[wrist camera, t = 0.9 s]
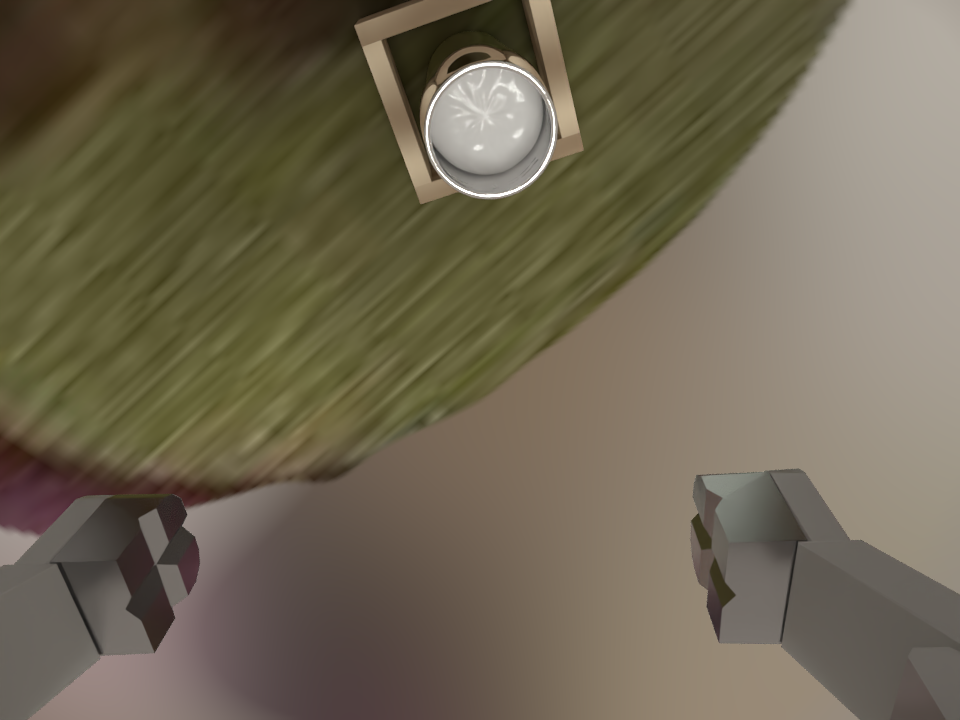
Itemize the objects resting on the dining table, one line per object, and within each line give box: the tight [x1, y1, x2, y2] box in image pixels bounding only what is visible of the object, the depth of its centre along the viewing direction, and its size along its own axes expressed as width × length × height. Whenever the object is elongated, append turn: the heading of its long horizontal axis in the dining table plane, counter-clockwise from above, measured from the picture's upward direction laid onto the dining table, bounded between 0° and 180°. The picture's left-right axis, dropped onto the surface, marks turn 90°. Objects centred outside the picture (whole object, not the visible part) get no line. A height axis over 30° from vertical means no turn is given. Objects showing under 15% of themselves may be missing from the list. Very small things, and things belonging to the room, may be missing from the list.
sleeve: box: [354, 0, 584, 204], centre depth 43 cm, size 11×11×4 cm
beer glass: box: [419, 31, 558, 199], centre depth 39 cm, size 7×7×15 cm
